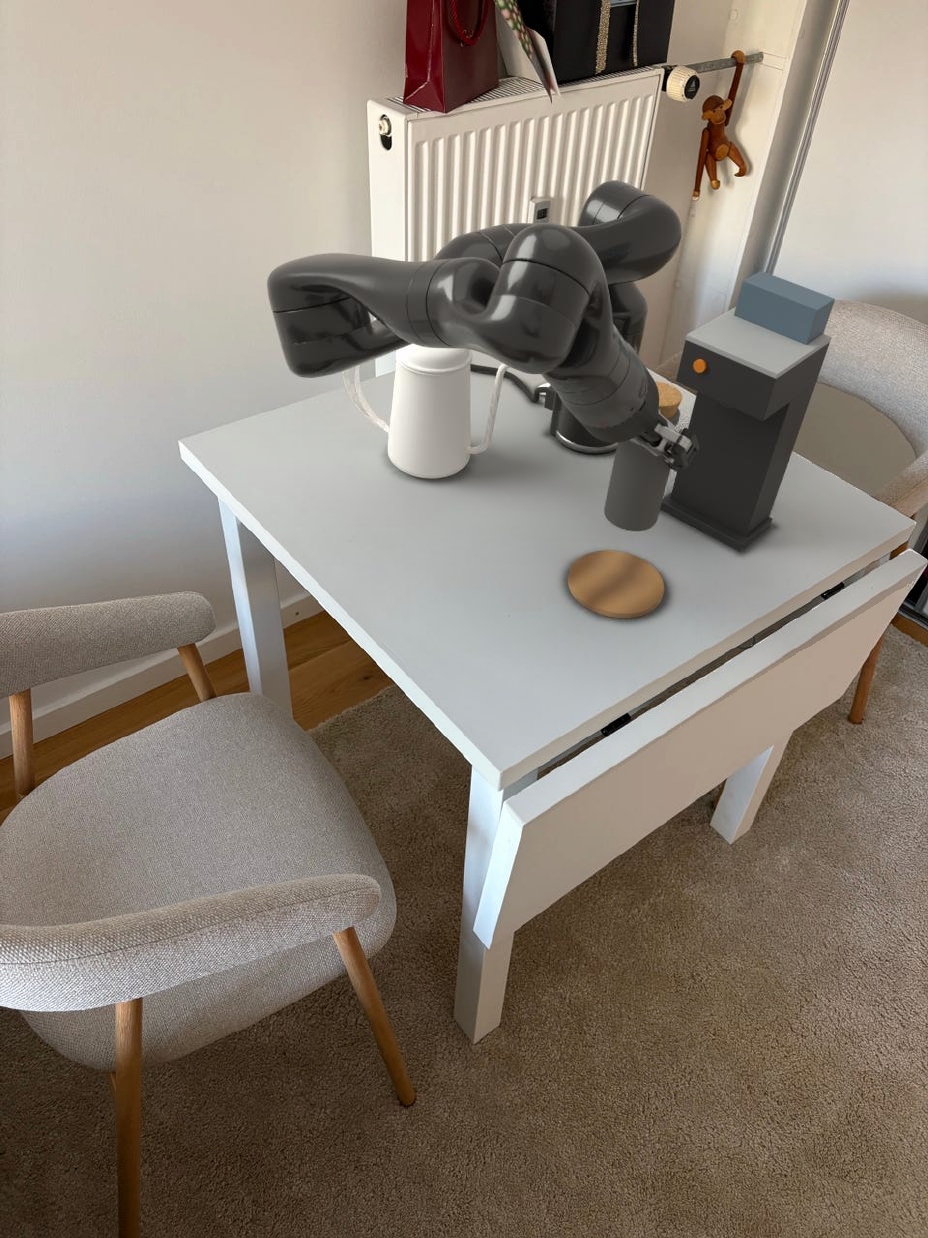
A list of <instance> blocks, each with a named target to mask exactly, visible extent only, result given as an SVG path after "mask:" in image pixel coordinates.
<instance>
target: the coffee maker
mask: <svg viewBox="0 0 928 1238" xmlns="http://www.w3.org/2000/svg"><path fill="white" fill-rule="evenodd" d="M739 290H740V291H739V294H738V298H737V303H736V305H735V306H734V307H733V308H731V309H729V310H727V311H726V312H725V311H724V313H722V314H719V316H717V317H715V318H712V319H711V320H710V321H708V322H706V323H705V324H702V325H701V326H698V327H697V328H695V329H694V330H692V331H690V332H689V333H687V334H686V337H685V340H684V345H683V349H682V354H681V357H680V362H679V366H678V371H677V374H676V378H675V382H676V383H679V384H680V385H683V386H685V387H688V388H689V389H692V390H694V391H696V395H695V399H694V404H693V406H692V411H691V415H690V419H689V423H688V427H687V428H689V429H691V430H693V432H694V433H695V435H696V438H697V441H698V444H699V447H700V448H699V450H698V451H697V452H696V454H695V455H694V457H693V458H692V460H691V462H690V463H689V466H688V467H687V469H682V470H681V469H679V470H678V471H677V472H676V473H675V477H674V480H673V481H674V482H673V485H672V489H671V492H670V493H669V494H667V495H666V496H664V497H663V500H662V504H661V508H660V511H661V510H662V511H663V512H665V513H667V514H669V515H670V516H673V517H675V518H676V519H678V520H680V521H682V522H684V523H686V524H687V525H690V526H691V527H693V528H695V529H697V530H698V531H700V532H703V533H705V534H706V535H708V536H710V537H712V538H714V539H716V540H717V541H719V542H721V543H723V544H725V545H727V546H728V547H731V548H732V549H734V550H736V551H737V552H742V551H743V550H744V549H745V548H746V547H747V546H749V545H750V544H751V543H752V542H753V541H755V540H756V539H757V538H758V537H760V535H762V534H763V533H764V532H765V531H766V530H767V529H769V528H771V525H772V524H773V523H772V522H773V520H774V519H773V517H771V514H772V512H773V511H772V510H773V508H774V506H775V502H776V500H777V496H778V493H779V491H780V489H781V485H782V482H783V479H784V476H785V473H786V470H787V468H788V465H789V462H790V460H791V456H792V454H793V451H794V447H795V444H796V442H797V439H798V436H799V433H800V430H801V428H802V424H803V422H804V419H805V416H806V413H807V410H808V408H809V404H810V401H811V399H812V396H813V393H814V391H815V390H814V389H815V387H816V384H817V381H818V379H819V375H820V373H821V370H822V367H823V364H824V361H825V358H826V355H827V352H828V350H829V347H830V344H831V341H832V336H830V335H828V334H826V333H825V330H826V328H827V324H828V322H829V319H830V316H831V313H832V310H833V307H834V304H835V301H836V298H834V297H831V296H830V295H829V296H828V295H826V294H823V293H821V292H818V291H815V290H813V289H811V288H808V287H805V286H802V285H800V284H798V283H794V282H792V281H789V280H787V279H784V278H781V277H779V276H777V275H774V274H772V273H769V272H766V271H764V270H763V271H762V270H759V271H758V272H756V273H754V274H753V275H751V276H749V277H747V278H746V279H745V278H744V279H743V280H742V283H741V286H740V289H739Z"/></svg>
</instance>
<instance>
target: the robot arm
mask: <svg viewBox="0 0 928 1238" xmlns="http://www.w3.org/2000/svg"><path fill="white" fill-rule="evenodd" d="M677 213H678V212H676V210H675V209H674V208H673V207H672V206H671V205H669V203H667V202H666V201H664V200H662V199H661V198H660V197H657V196H655V195H653V194H652V193H651V194H650V193H648V192H647V191H644V190H642V189H640V188H638V187H636V186H634V185H632V184H630V183H627V182H625V181H622V180H618V179H613V180H607V181H604V182H602V183H601V184H599V185H598V186H596V187H595V189H593V190H592V191H591V193H590V194H589V196H588V197H587V198H586V200H585V202H584V204H583V206H582V209H581V210H580V213H579V217H578V221H577V225H576V226H573V225H563V224H559V223H554V222H539V223H532V222H514V223H513V222H511V223H503V224H498V225H493V226H490V227H486V228H482V229H478V230H474V231H470V232H466V233H464V234H460V235H458V236H455V237H454V238H452V239H451V240H450V241H449V242H447V243H445V245H444V246H443V247H442V248H441V249H440V250H438V252H437V253H436V254H435V255H434V257H433V258H432V259H431V260H423V261H422V260H419V261H410V260H409V261H408V260H407V261H406V260H398V259H393V258H385V257H380V256H374V255H366V254H365V255H364V254H356V253H355V254H354V253H344V252H328V253H327V252H325V253H319V254H312V255H307V256H302V257H299V258H296V259H292V260H289V261H287V262H284V263H282V264H280V265H278V266H277V267H275V268H274V269H273V270H271V272H270V273H269V275H268V277H267V280H266V289H267V297H268V301H269V305H270V310H271V311H272V312H271V313H272V317H273V321H274V324H275V328H276V332H277V336H278V338H279V343H280V347H281V350H282V354H283V356H284V360H285V363H286V366H287V367H288V370H289V371H290V372H291V373H292V375H295V376H296V377H299V378H303V379H315V378H323V377H328V376H332V375H336V374H338V373H342V371H345V370H347V371H349V370H351V369H353V368H356V366H359V365H364V364H367V363H369V362H372V361H374V360H377V359H379V358H382V357H384V356H386V355H389V354H391V353H395V352H394V351H397V350H399V349H401V348H404V347H406V346H409V345H412V344H415V345H418V346H422V347H427V348H458V349H460V348H465V349H470V350H471V351H475V352H478V353H481V354H483V355H486V356H488V357H490V358H492V359H494V360H496V361H497V362H500V363H501V364H505V365H507V366H509V368H511V369H513V370H516V371H519V372H521V373H523V374H527V375H528V374H529V375H541V376H542V378H543V379H544V380H545V381H546V383H549V384H550V385H551V386H549V387H538V386H537V387H536V388H535V389H534V390H533V393H532V392H531V391H530V390H529V388H528V386H527V385H526V384H525V383H524V382H523V381H522V380H521V378H519V377H518V376H517V375H515V374H514V373H512V372H510V371H508V370H506V371H505V373H504V376H503V377H505V378H507V379H508V378H509V379H510V380H511V381H512V382H514V383H515V384H516V385H517V386H518V387H519V389H520V390H521V392H523V393H524V394H525V395H526V397H527V398H528V399H529V401H532V402H535V403H536V402H539V400H540V396H541V394H540V393H546V395H545V396H544V397H545V398H544V405H543V406H544V407H543V408H544V409H547V410H549V411H552V413H551V418H550V419H551V420H550V427H549V435H550V434H551V435H553V436H555V437H556V439H557V441H558V442H560V443H561V444H562V445H563V446H565V447H566V448H569V449H571V450H574V451H576V452H581V453H585V454H605V453H609V452H611V451H613V450H616V449H617V444H618V442H624V441H629V442H632V443H635V444H637V445H638V446H640V447H641V448H642V449H643V450H645V451H646V452H647V453H649V454H652V455H654V456H660V457H661V458H663V460H664V461H665V462H666V464H667V465H668V466H669V468H670V470H672V471H674V472H676V473H677V471H678V470H679V469H681V470H682V469H687V467H688V466H689V463H690V462H691V460H692V458H693V457H694V455H695V454H696V452H697V451H698V450H699V448H700V447H699V444H698V441H697V438H696V435H695V433H694V432H693V430H691V429H689V428H688V427H683V428H680V429H679V431H678V432H677V431H676V432H675V430H676V426H674V425H673V424H672V423H671V422H670V421H669V420H668V419H666V418H665V417H664V416H663V415H662V414H661V413H660V409H659V391H658V388H657V385H656V383H655V382H656V381H655V379H654V377H653V376H652V375H651V373H650V372H649V371H650V370H648V369H647V367H646V365H645V364H644V362H643V360H642V359H641V358H640V352H641V347H642V341H643V337H644V332H645V328H646V322H647V318H648V311H649V304H648V300H647V298H646V296H645V295H644V293H643V292H642V291H641V289H640V288H639V287H638V285H637V283H636V282H638V281H641V280H644V279H647V278H649V277H651V276H653V275H655V274H657V273H658V272H659V271H661V270H662V269H663V268H664V267H665V266H667V265H668V263H669V262H670V261H671V260H672V259H673V257H674V256H675V254H676V253H677V251H678V249H679V248H680V244H681V243H682V242H681V241H682V238H683V237H682V236H683V227H682V222H681V219H680V216H679V215H678V214H677ZM371 316H372V317H373V318H375V319H374V320H373V321H372V319H371ZM498 369H499V367H493V366H486V365H479V364H474V363H471V364H470V371H471V370H473V371H476V372H477V371H478V372H484V373H490V374H495V375H497V371H498ZM651 441H652V442H651ZM647 442H651V443H650V444H649V443H647ZM667 442H668V443H669V446H668V448H667V449H666V451H665V450H664V447H665V445H666V444H667Z"/></svg>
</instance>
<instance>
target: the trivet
mask: <svg viewBox="0 0 928 1238" xmlns="http://www.w3.org/2000/svg"><path fill="white" fill-rule="evenodd" d="M567 584H568V588H569V591H570V593H571V595H572V596H573V597H574V599H575V600H576V601H577V602H578V603H579V604H581V605H582V606H583V607H585V608H586V609H587V610H590V611H592V612H594V613H596V614H598V615H601V616H605V617H609V618H613V619H633V618H639V617H642V616H643V617H644V616H645V615H648V614H650V613H651V612H653V611H654V610H655V609H657V607H659V605H660V603H662V601H663V596H664V594H665V583H664V579H663V577H662V576H661V574H660V572H659V571H658V570H657V569H656V568H655V566H653V565H652V564H651V563H650V562H648V561H646V560H645V559H643V558H641V557H639V556H637V555H634V554H631V553H629V552H624V551H619V550H607V549H606V550H598V551H596V550H595V551H592V552H589V553H585V554H583V555H582V556H580V557H578V558H577V559H576V560H575V561H574V562H573V563H572V565H571V566H570V569H569V571H568V576H567Z"/></svg>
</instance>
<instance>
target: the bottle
mask: <svg viewBox="0 0 928 1238" xmlns="http://www.w3.org/2000/svg"><path fill="white" fill-rule="evenodd" d="M655 383H656V385H657V388H658V391H659V409H660V413H661V414H662V415H663V416H664V417H665V418H666V419H668V420H669V421H670V422H671V423H672V424H673V425H674V426H675V427H677V425H678V424H679V422H680V418H681V410H680V409H679V407H680V405H681V403H682V401H683V395H682V392H681V391H680V390H679V389H678V388H676V387H675V386H673V385H672V384H669V383H666V382H662V381H655ZM675 432H677V430H676V429H675ZM651 442H652V441H651ZM651 442H647V443H649V444H650V443H651ZM668 446H669V443H668V442H667V444H666V445H665V447H664V450H665V451H666V449H667V448H668ZM670 473H671V469H670V468H669V466H668V465H667V464H666V462H665V461H664V460H663V458H661V457H660V456H654V455H652V454H649V453H647V452H646V451H645V450H643V449H642V448H641V447H640V446H638V445H637V444H635V443H632V442H629V441H624V442H618V444H617V448H616V449H615V453H614V458H613V463H612V468H611V473H610V478H609V482H608V487H607V493H606V498H605V503H604V509H603V510H604V511H603V513H604V516H605V518H606V520H607V521H608V522H609V523H610V524H611V525H613V526H615V527H616V528H619V529H621V530H624V531H629V532H643V531H648V530H650V529H652V528H653V527H655V525H656V524H657V521H658V519H659V515H660V512H661V509H660V508H661V504H662V500H663V499H664V497H665V492H666V489H667V484H668V481H669V477H670Z"/></svg>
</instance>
